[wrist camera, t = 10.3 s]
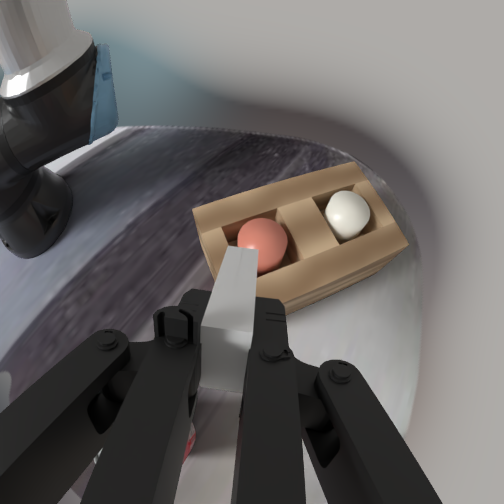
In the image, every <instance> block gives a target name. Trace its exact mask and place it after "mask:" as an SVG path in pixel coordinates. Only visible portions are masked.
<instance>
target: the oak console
mask: <svg viewBox="0 0 504 504" xmlns="http://www.w3.org/2000/svg"><path fill="white" fill-rule="evenodd" d="M339 191H351V192H354V193H356V194H358V195H359V196H361V197H362V198H363V199H364V200H365V201H366V203H367V205H368V207H369V209H370V218H369V221H368V222H367V224H366V225H365V226H364V228H363V229H362V230H361V231H360V233H359V234H358V235H357V237H356V238H355V239H353V240H351V241H348V242H346V243H343V244H341V245H339V243H338V242H337V240H336V238H335V236H334V235H333V233H332V231H331V229H330V228H329V226H328V224H327V222H326V221H325V219H324V217H323V214H324V212H325V210H326V207H327V205H328V203H329V201H330V199H331V197H332V196H333V195H334V194H335V193H337V192H339ZM192 210H193V214H194V218H195V222H196V226H197V230H198V234H199V238H200V242H201V246H202V249H203V252H204V254H205V257H206V260H207V262H208V265H209V267H210V270H211V273H212V275H213V278H214V280H215V282H216V279H217V276H218V273H219V270H220V267H221V264H222V261H223V259H224V256H225V253H226V250H227V247H228V246H234V247H238V234H239V231H240V229H241V228H242V226H243V225H244V224H246V223H247V222H248V221H250V220H253V219H257V218H266V219H270V220H273V221H275V222H277V223H278V224H279V225H280V226H281V227H282V228H283V229H284V231H285V233H286V235H287V240H288V241H287V248H286V251H285V253H284V256H283V259H282V261H281V264H280V267H279V269H278V270H276V271H273V272H271V273H268V274H265V275H263V276H260V277H258V278H257V281H256V297H265V298H273V299H279V300H280V301H281V302H282V304H283V305H284V306H285V313H286V315H288V314H290V313H292V312H295V311H297V310H299V309H301V308H304V307H306V306H308V305H310V304H313V303H315V302H317V301H319V300H321V299H324V298H326V297H328V296H330V295H332V294H334V293H336V292H339V291H341V290H343V289H345V288H347V287H349V286H351V285H353V284H355V283H357V282H359V281H361V280H363V279H365V278H367V277H369V276H371V275H373V274H375V273H377V272H378V271H379V270H380V269H382V268H383V267H384V266H385V265H386V264H387V263H389V262H390V261H391V260H392V259H393V258H394V257H396V256H397V255H398V254H399V253H400V252H401V251H402V250H404V249H405V248H406V247H407V246H408V245H409V243H408V242H407V240H406V238H405V236H404V235H403V233H402V231H401V230H400V228H399V226H398V225H397V223H396V222H395V220H394V218H393V217H392V215H391V214H390V212H389V211H388V209H387V207H386V206H385V204H384V203H383V201H382V200H381V198H380V197H379V195H378V194H377V192H376V191H375V189H374V188H373V187H372V185H371V184H370V182H369V181H368V179H367V178H366V177H365V175H364V174H363V172H362V171H361V170H360V168H359V167H358V166H357V164H356V163H355V162H350V163H346V164H342V165H338V166H334V167H330V168H326V169H322V170H319V171H315V172H311V173H308V174H304V175H300V176H297V177H293V178H290V179H286V180H283V181H279V182H276V183H272V184H269V185H266V186H262V187H259V188H256V189H252V190H249V191H246V192H243V193H240V194H236V195H233V196H230V197H227V198H224V199H221V200H218V201H215V202H212V203H209V204H206V205H203V206H200V207H197V208H194V209H192Z"/></svg>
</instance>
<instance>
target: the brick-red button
mask: <svg viewBox="0 0 504 504" xmlns="http://www.w3.org/2000/svg"><path fill="white" fill-rule="evenodd" d="M287 241H288V240H287V235H286V233H285V231H284V229H283V228H282V227H281V226H280V225H279V224H278V223H277V222H275V221H273V220H270V219H266V218H257V219H253V220H250V221H248V222H247V223H246V224H244V225H243V226H242V228H241V229H240V231H239V234H238V247H242V248H250V249H258V250H259V251H258V266H257V278H258V277H260V276H263V275H265V274H268V273H271V272H273V271H276V270H278V269H279V267H280V264H281V261H282V259H283V256H284V253H285V251H286V248H287Z"/></svg>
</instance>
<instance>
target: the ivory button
mask: <svg viewBox="0 0 504 504" xmlns="http://www.w3.org/2000/svg"><path fill="white" fill-rule="evenodd" d="M323 217H324V219H325V221H326V222H327V224H328V226H329V228H330V229H331V231H332V233H333V235H334V236H335V238H336V240H337V242H338V243H339V245H341V244H343V243H346V242H348V241H351V240H353V239H355V238H356V237H357V235H358V234H359V233H360V231H361V230H362V229H363V228H364V226H365V225H366V224H367V222H368V221H369V218H370V209H369V207H368V205H367V203H366V201H365V200H364V199H363V198H362V197H361V196H359V195H358V194H356V193H354V192H351V191H339V192H337V193H335V194H334V195H333V196H332V197H331V199H330V201H329V203H328V205H327V207H326V210H325V212H324V214H323Z"/></svg>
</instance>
